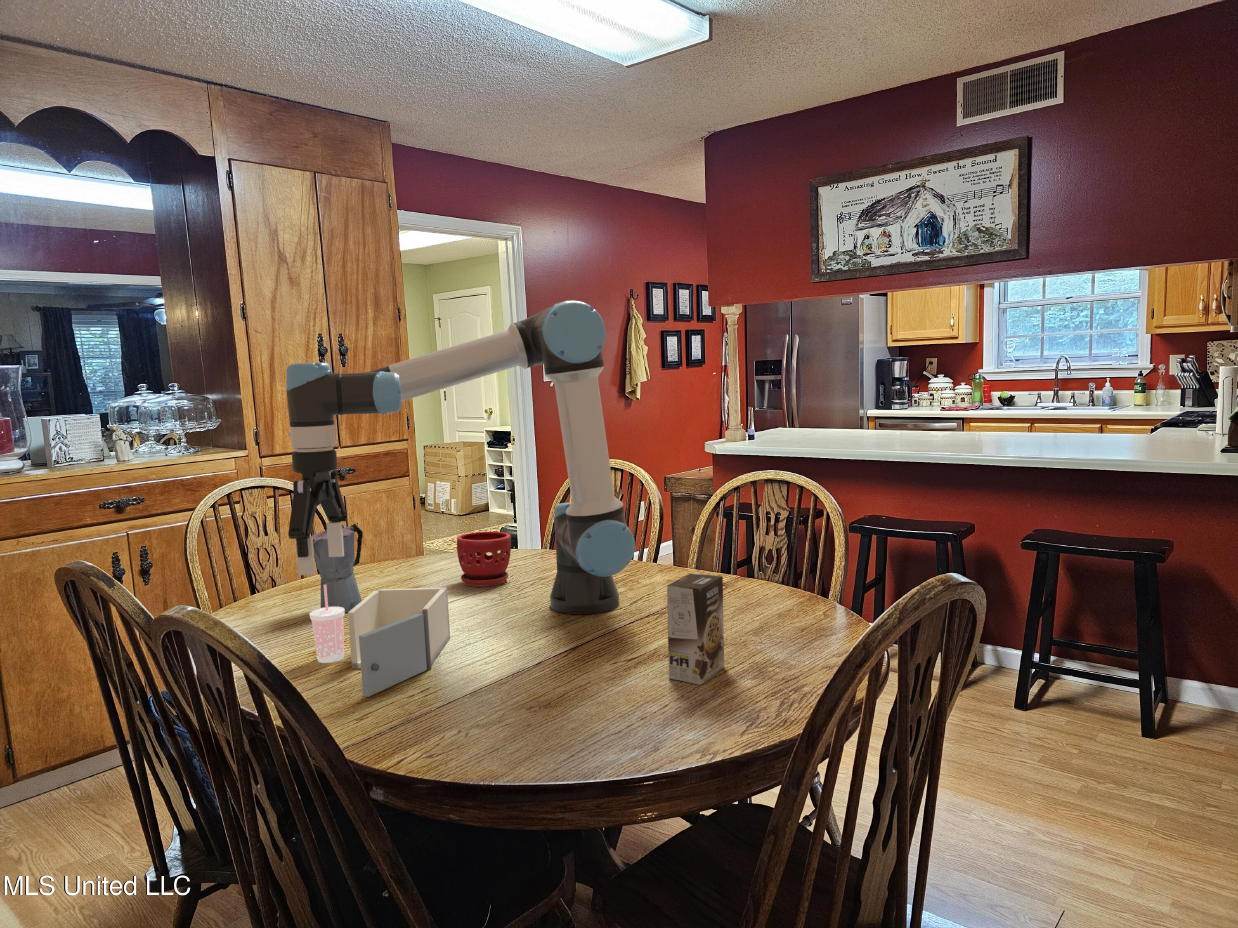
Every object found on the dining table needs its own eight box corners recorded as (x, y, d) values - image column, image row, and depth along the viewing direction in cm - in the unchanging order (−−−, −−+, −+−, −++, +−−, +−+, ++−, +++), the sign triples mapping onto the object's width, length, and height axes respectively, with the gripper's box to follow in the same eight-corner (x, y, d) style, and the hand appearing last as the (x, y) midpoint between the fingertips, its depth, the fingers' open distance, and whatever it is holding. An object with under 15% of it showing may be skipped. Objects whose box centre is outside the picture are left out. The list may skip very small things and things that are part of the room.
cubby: (452, 638, 157) (449, 584, 156) (430, 669, 141) (426, 610, 140) (379, 640, 158) (375, 586, 156) (349, 671, 141) (344, 612, 140)
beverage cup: (339, 650, 153) (333, 578, 151) (354, 657, 148) (348, 584, 147) (307, 659, 148) (301, 585, 147) (322, 667, 144) (315, 591, 142)
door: (421, 668, 141) (417, 613, 140) (429, 670, 140) (426, 614, 139) (362, 695, 130) (357, 635, 129) (371, 697, 129) (366, 637, 128)
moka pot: (300, 616, 175) (292, 526, 173) (348, 596, 189) (342, 513, 187) (334, 620, 172) (327, 528, 169) (381, 600, 186) (375, 515, 183)
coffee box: (702, 686, 130) (700, 589, 128) (667, 679, 133) (664, 584, 131) (726, 667, 137) (724, 575, 135) (692, 661, 141) (690, 571, 139)
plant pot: (508, 588, 192) (506, 539, 190) (454, 590, 192) (451, 541, 191) (516, 574, 205) (514, 528, 203) (465, 576, 205) (462, 530, 203)
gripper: (321, 443, 156) (328, 549, 159) (260, 457, 131) (270, 583, 134) (359, 442, 156) (366, 549, 158) (305, 456, 131) (314, 582, 134)
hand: (322, 565), depth 146 cm, fingers open, 13 cm apart
